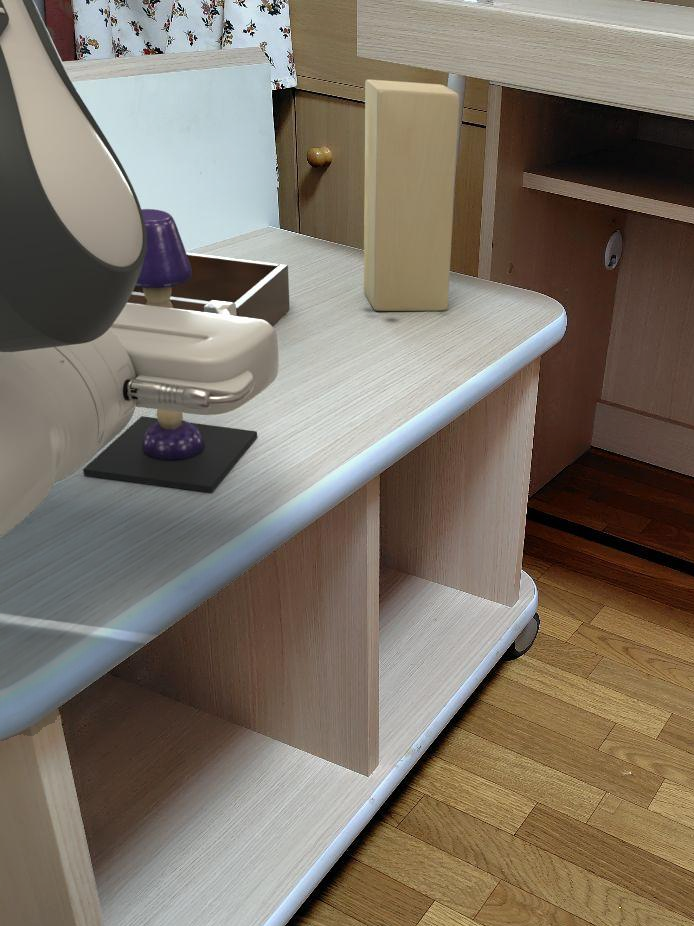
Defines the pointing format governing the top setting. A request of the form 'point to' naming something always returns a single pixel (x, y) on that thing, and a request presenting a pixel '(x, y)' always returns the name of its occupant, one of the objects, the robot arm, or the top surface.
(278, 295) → the crate
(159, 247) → the toy lamp
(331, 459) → the top surface
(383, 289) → the tall wooden block
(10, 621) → the top surface
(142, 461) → the pad
